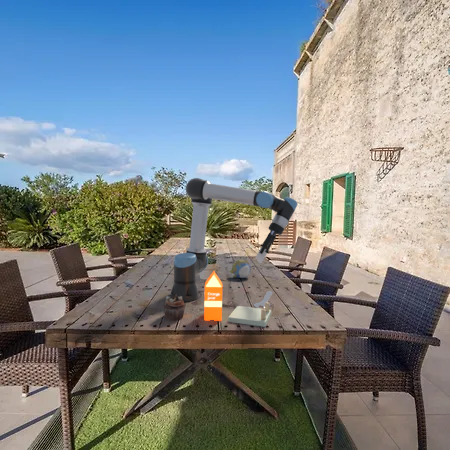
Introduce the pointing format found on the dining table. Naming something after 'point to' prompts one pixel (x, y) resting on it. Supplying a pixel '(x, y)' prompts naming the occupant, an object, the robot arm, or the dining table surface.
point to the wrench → (264, 300)
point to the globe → (241, 269)
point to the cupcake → (174, 307)
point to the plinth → (251, 315)
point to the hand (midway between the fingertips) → (258, 261)
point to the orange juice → (213, 298)
